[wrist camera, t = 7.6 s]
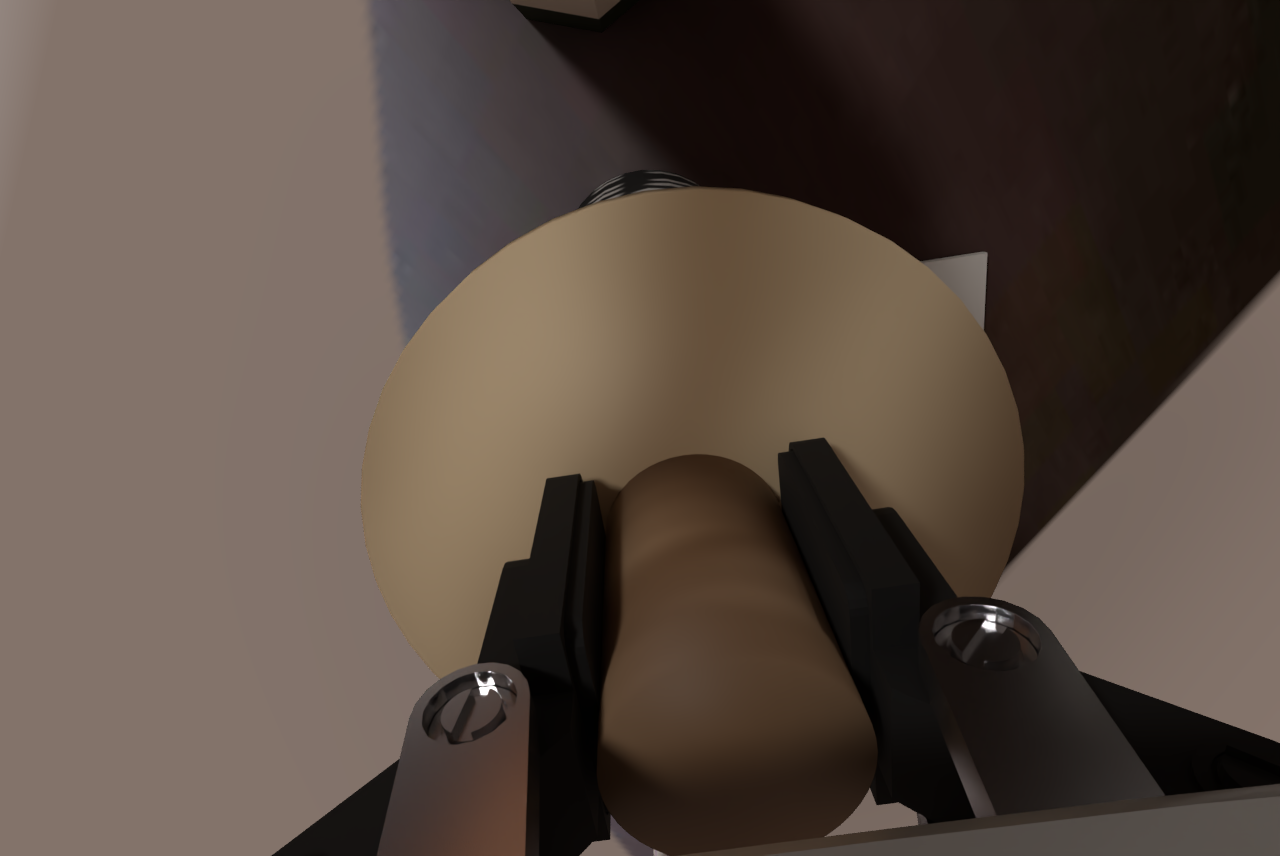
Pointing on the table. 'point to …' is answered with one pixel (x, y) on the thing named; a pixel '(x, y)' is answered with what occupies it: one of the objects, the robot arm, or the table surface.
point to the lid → (692, 480)
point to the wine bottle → (575, 12)
